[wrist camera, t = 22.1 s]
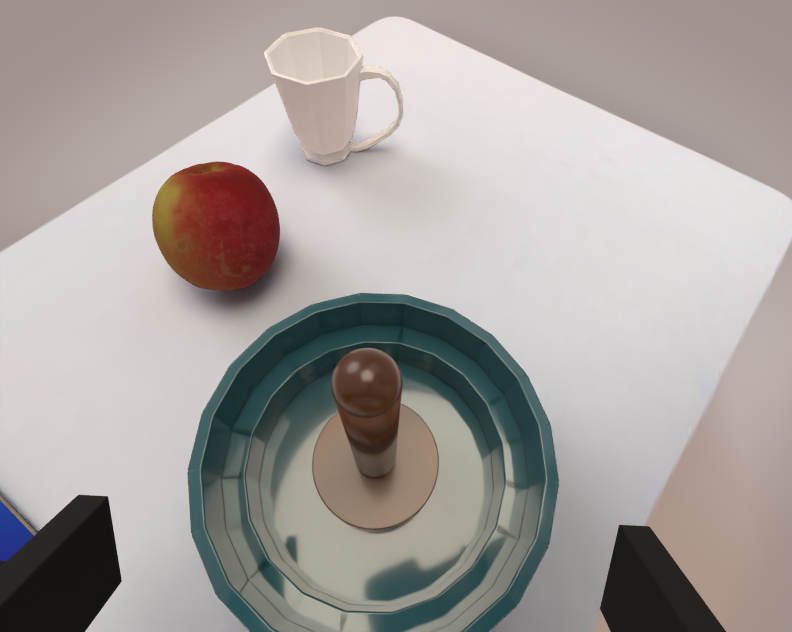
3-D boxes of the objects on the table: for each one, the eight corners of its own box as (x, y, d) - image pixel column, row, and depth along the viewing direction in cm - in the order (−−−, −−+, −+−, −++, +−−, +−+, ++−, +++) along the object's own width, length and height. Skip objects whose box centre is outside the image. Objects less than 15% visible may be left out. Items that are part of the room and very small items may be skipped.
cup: (292, 120, 39) (271, 24, 32) (402, 123, 39) (405, 28, 32) (280, 175, 36) (253, 81, 29) (400, 179, 36) (404, 87, 29)
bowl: (570, 444, 26) (617, 415, 20) (405, 738, 19) (412, 807, 14) (359, 299, 30) (353, 245, 25) (170, 497, 24) (108, 480, 18)
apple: (312, 241, 32) (291, 155, 25) (249, 327, 29) (205, 255, 22) (228, 208, 34) (187, 117, 27) (159, 285, 30) (91, 204, 23)
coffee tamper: (456, 456, 24) (532, 350, 12) (386, 560, 22) (385, 567, 9) (368, 389, 26) (351, 235, 13) (294, 478, 24) (188, 390, 11)
